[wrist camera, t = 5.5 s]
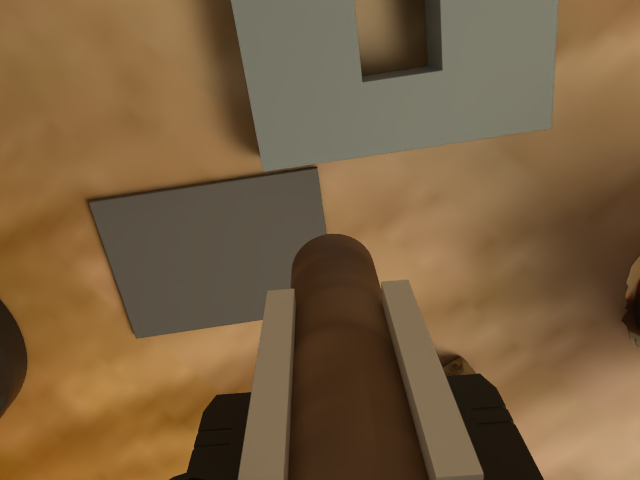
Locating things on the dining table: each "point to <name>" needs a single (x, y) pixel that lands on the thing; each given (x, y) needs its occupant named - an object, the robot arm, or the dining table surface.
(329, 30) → the block
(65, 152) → the dining table surface
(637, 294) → the vessel
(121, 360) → the dining table surface
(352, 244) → the peg
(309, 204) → the mat
